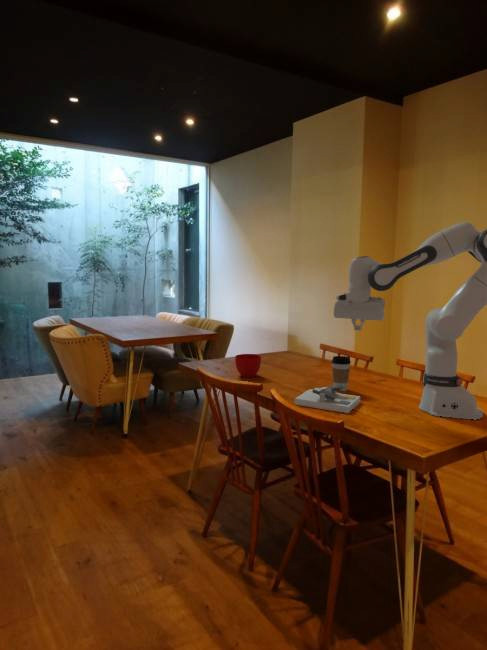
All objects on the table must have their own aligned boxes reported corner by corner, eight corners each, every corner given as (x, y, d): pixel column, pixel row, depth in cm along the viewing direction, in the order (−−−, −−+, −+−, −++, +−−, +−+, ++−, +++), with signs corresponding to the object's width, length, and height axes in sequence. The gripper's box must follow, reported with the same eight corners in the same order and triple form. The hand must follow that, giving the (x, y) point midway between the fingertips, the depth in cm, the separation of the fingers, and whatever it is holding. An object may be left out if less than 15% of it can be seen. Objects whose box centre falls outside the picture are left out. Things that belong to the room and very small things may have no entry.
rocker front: (336, 398, 181) (337, 394, 181) (333, 400, 178) (334, 397, 177) (315, 390, 185) (316, 386, 185) (312, 392, 182) (312, 389, 181)
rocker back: (343, 388, 188) (342, 385, 188) (340, 390, 184) (339, 387, 184) (323, 390, 192) (322, 387, 192) (319, 392, 189) (319, 389, 189)
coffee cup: (336, 392, 201) (337, 359, 199) (327, 387, 209) (328, 355, 207) (353, 391, 203) (354, 358, 201) (344, 386, 211) (345, 354, 209)
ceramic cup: (262, 371, 240) (262, 352, 239) (260, 379, 224) (260, 359, 222) (237, 370, 242) (237, 352, 240) (233, 378, 225) (233, 358, 224)
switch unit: (360, 402, 187) (360, 388, 186) (348, 413, 173) (349, 398, 172) (309, 394, 198) (309, 381, 197) (294, 404, 184) (295, 390, 183)
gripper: (387, 297, 184) (385, 331, 186) (337, 295, 194) (336, 327, 196) (383, 297, 178) (381, 333, 180) (332, 296, 188) (331, 329, 190)
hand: (357, 330), depth 188 cm, fingers closed
